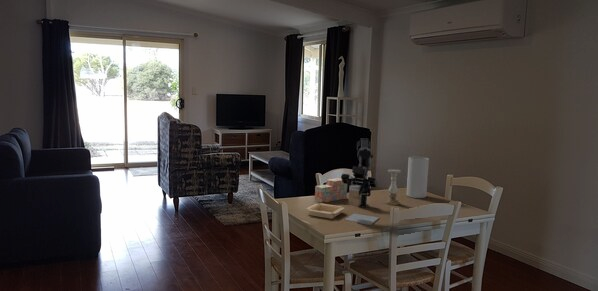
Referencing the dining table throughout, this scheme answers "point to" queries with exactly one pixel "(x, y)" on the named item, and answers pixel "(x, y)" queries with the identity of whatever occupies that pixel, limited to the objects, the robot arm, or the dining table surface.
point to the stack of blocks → (331, 191)
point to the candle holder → (393, 188)
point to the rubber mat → (362, 219)
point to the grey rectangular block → (354, 195)
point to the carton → (324, 210)
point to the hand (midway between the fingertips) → (354, 193)
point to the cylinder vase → (417, 177)
